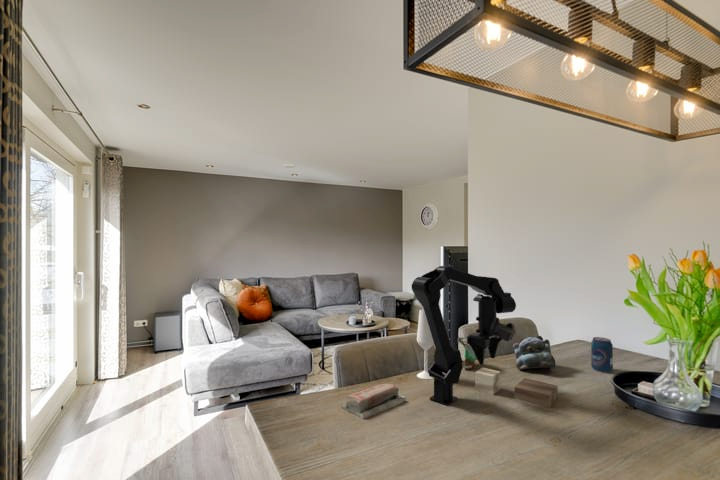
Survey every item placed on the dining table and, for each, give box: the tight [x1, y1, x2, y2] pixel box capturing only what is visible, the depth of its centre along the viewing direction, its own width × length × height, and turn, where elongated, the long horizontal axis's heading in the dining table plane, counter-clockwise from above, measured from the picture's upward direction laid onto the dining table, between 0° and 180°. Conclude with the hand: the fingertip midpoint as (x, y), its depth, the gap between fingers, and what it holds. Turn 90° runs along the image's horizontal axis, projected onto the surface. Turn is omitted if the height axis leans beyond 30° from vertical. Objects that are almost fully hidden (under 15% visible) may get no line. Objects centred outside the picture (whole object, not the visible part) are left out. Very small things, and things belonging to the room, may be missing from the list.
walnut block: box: [514, 377, 559, 408], centre depth 115 cm, size 10×10×4 cm
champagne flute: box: [416, 309, 435, 380], centre depth 134 cm, size 7×7×24 cm
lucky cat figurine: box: [512, 335, 556, 371], centre depth 143 cm, size 15×12×14 cm
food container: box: [457, 336, 476, 371], centre depth 144 cm, size 12×6×10 cm, turn 179°
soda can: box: [590, 336, 614, 374], centre depth 140 cm, size 7×7×12 cm
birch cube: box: [474, 367, 501, 396], centre depth 121 cm, size 6×6×6 cm
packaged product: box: [340, 383, 407, 420], centre depth 110 cm, size 18×5×10 cm
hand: (487, 361), depth 121 cm, fingers open, 9 cm apart
